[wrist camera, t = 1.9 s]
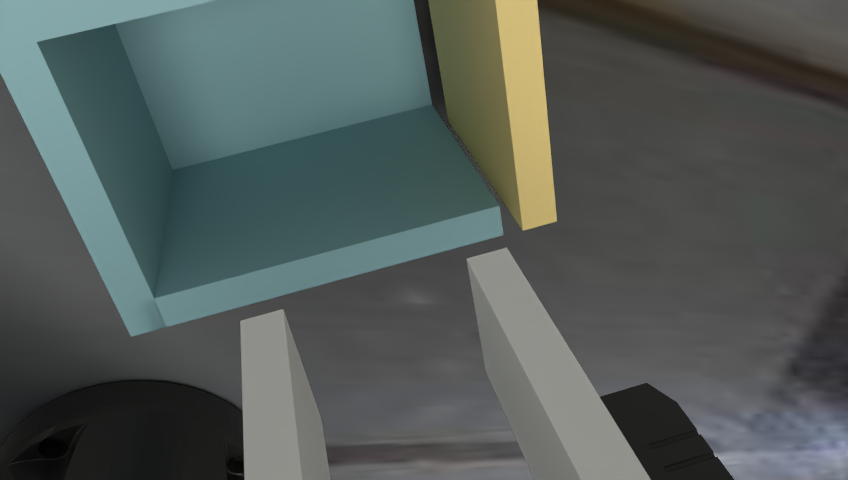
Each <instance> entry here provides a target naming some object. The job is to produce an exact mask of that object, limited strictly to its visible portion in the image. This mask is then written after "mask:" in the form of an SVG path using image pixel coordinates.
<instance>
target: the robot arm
mask: <svg viewBox="0 0 848 480" xmlns="http://www.w3.org/2000/svg"><path fill="white" fill-rule="evenodd" d="M467 265H468V271H469V277H470V283H471V289H472V294H473V300H474V306H475V312H476V318H477V323H478V329H479V335H480V341H481V347H482V353H483V358H484V364H485V370H486V373H487V375H488V378H489V380H490V382H491V384H492V386H493V389H494V391H495V393H496V395H497V398H498V400H499V402H500V404H501V406H502V409H503V411H504V413H505V415H506V417H507V420H508V422H509V424H510V426H511V429H512V431H513V433H514V435H515V437H516V440H517V442H518V444H519V446H520V449H521V451H522V453H523V455H524V457H525V460H526V462H527V464H528V466H529V469H530V471H531V473H532V475H533V477H534V480H734V479H733V477H732V476H731V475H730V473H729V472H728V471H727V469H726V468H725V467H724V465H723V464H722V463H721V461H720V460H719V459H718V457H715V456H714V454H713V450H712V449H711V448H710V446H709V445H708V444H707V442H706V441H705V440H704V438H703V437H702V436H701V434H700V435H699V434H698V433H697V429H696V428H695V426H694V425H693V424H692V422H691V421H690V420H689V418H688V417H687V415H686V414H685V413H684V411H683V410H682V409H681V407H680V406H679V405H678V403H677V402H675V401H674V400H672V399H671V398H669V397H668V396H666V395H665V394H663V393H662V392H660V391H658V390H657V389H655V388H654V387H652V386H651V385H649V384H648V383H645V384H641V385H638V386H635V387H631V388H628V389H625V390H621V391H618V392H615V393H611V394H608V395H605V396H601V397H599V395H598V394H597V392H596V390H595V389H594V387H593V386H592V384H591V382H590V381H589V379H588V378H587V376H586V374H585V373H584V371H583V370H582V368H581V366H580V365H579V363H578V361H577V360H576V358H575V357H574V355H573V353H572V352H571V350H570V349H569V347H568V345H567V344H566V342H565V341H564V339H563V337H562V336H561V334H560V332H559V331H558V329H557V328H556V326H555V324H554V323H553V321H552V320H551V318H550V316H549V315H548V313H547V312H546V310H545V308H544V307H543V305H542V303H541V302H540V300H539V299H538V297H537V295H536V294H535V292H534V291H533V289H532V287H531V286H530V284H529V283H528V281H527V279H526V278H525V276H524V274H523V273H522V271H521V270H520V268H519V266H518V265H517V263H516V262H515V260H514V258H513V257H512V255H511V254H510V252H509V250H508V249H507V248H503V249H500V250H496V251H492V252H489V253H485V254H481V255H478V256H474V257H471V258H467ZM240 328H241V366H242V404H243V413H242V412H240V411H239V410H238V409H236V408H235V407H233V406H232V405H231V404H229V403H227V402H225V401H224V400H222V399H220V398H218V397H216V396H213V395H211V394H208V393H206V392H203V391H200V390H197V389H194V388H190V387H187V386H182V385H177V384H171V383H165V382H154V381H127V382H116V383H108V384H103V385H98V386H93V387H89V388H85V389H82V390H79V391H76V392H73V393H70V394H67V395H65V396H62V397H60V398H58V399H56V400H54V401H52V402H50V403H48V404H46V405H44V406H43V407H41V408H40V409H38V410H36V411H35V412H34V413H32V414H31V415H29V416H28V417H27V418H26V419H25V420H23V421H22V422H21V423H20V424H19V425H18V426H17V427H16V428H15V429H14V430H13V431H12V432H11V434H10V435H9V436H8V437H7V439H6V440H5V442H4V443H3V445H2V447H1V449H0V480H330V473H329V466H328V460H327V453H326V447H325V440H324V434H323V427H322V420H321V417H320V414H319V411H318V408H317V405H316V402H315V399H314V397H313V394H312V391H311V388H310V385H309V382H308V379H307V376H306V373H305V371H304V368H303V365H302V362H301V359H300V356H299V353H298V350H297V347H296V344H295V342H294V339H293V336H292V333H291V330H290V327H289V324H288V321H287V318H286V316H285V313H284V310H283V309H281V310H278V311H274V312H271V313H267V314H263V315H260V316H256V317H252V318H249V319H245V320H241V321H240Z"/></svg>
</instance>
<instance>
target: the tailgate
mask: <svg viewBox="0 0 848 480" xmlns="http://www.w3.org/2000/svg"><path fill="white" fill-rule="evenodd" d="M428 3H429V9H430V15H431V21H432V27H433V32H434V38H435V44H436V50H437V56H438V62H439V68H440V74H441V80H442V86H443V92H444V98H445V104H446V110H447V116H448V122H449V125H450V126H452V127H453V129H454V130H455V132H456V133H457V135H458V136H459V138H460V139H461V141H462V142H463V144H464V145H465V146H466V148H467V149H468V151H469V152H470V154H471V155H472V157H473V158H474V160H475V161H476V163H477V164H478V166H479V167H480V168H481V170H482V171H483V173H484V174H485V176H486V177H487V179H488V180H489V182H490V183H491V185H492V186H493V188H494V189H495V190H496V192H497V193H498V195H499V196H500V198H501V199H502V201H503V202H504V204H505V205H506V207H507V208H508V210H509V211H510V212H511V214H512V215H513V217H514V218H515V220H516V221H517V223H518V224H519V226H520V227H521V229H522V230H527V229H531V228H534V227H538V226H542V225H545V224H549V223H553V222H556V221H557V216H556V205H555V194H554V183H553V172H552V161H551V149H550V138H549V127H548V116H547V105H546V94H545V83H544V72H543V61H542V50H541V38H540V27H539V16H538V5H537V0H428Z"/></svg>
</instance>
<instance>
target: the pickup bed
mask: <svg viewBox="0 0 848 480" xmlns="http://www.w3.org/2000/svg"><path fill="white" fill-rule="evenodd" d="M0 73H1V75H2V77H3V79H4V81H5V83H6V85H7V87H8V89H9V91H10V93H11V95H12V97H13V99H14V101H15V103H16V105H17V107H18V110H19V112H20V114H21V116H22V118H23V120H24V122H25V124H26V126H27V128H28V130H29V132H30V134H31V136H32V138H33V140H34V142H35V144H36V146H37V148H38V150H39V152H40V154H41V156H42V158H43V160H44V162H45V164H46V166H47V168H48V170H49V172H50V174H51V176H52V178H53V180H54V182H55V184H56V186H57V188H58V190H59V192H60V194H61V196H62V198H63V200H64V202H65V204H66V206H67V208H68V210H69V212H70V214H71V216H72V218H73V220H74V223H75V225H76V227H77V229H78V231H79V233H80V235H81V237H82V239H83V241H84V243H85V245H86V247H87V249H88V251H89V253H90V255H91V257H92V259H93V261H94V263H95V265H96V267H97V269H98V271H99V273H100V275H101V277H102V279H103V281H104V283H105V285H106V287H107V289H108V291H109V293H110V295H111V297H112V299H113V301H114V303H115V305H116V307H117V309H118V311H119V313H120V315H121V317H122V319H123V321H124V323H125V325H126V327H127V329H128V331H129V334H130V336H131V337H132V336H136V335H139V334H143V333H147V332H150V331H154V330H158V329H161V328H165V327H169V326H172V325H176V324H180V323H183V322H187V321H191V320H194V319H198V318H202V317H205V316H209V315H213V314H216V313H220V312H224V311H227V310H231V309H235V308H238V307H242V306H246V305H249V304H253V303H257V302H260V301H264V300H268V299H271V298H275V297H278V296H282V295H286V294H289V293H293V292H297V291H300V290H304V289H308V288H311V287H315V286H319V285H322V284H326V283H330V282H333V281H337V280H341V279H344V278H348V277H352V276H355V275H359V274H363V273H366V272H370V271H374V270H377V269H381V268H385V267H388V266H392V265H396V264H399V263H403V262H407V261H410V260H414V259H418V258H421V257H425V256H429V255H432V254H436V253H440V252H443V251H447V250H451V249H454V248H458V247H462V246H465V245H469V244H473V243H476V242H480V241H484V240H487V239H491V238H495V237H498V236H502V235H503V228H502V221H501V213H500V206H499V204H498V203H497V201H496V200H495V198H494V197H493V195H492V194H491V192H490V191H489V189H488V188H487V186H486V185H485V183H484V182H483V180H482V179H481V177H480V176H479V174H478V173H477V171H476V170H475V168H474V167H473V165H472V164H471V162H470V161H469V159H468V158H467V156H466V155H465V153H464V152H463V150H462V149H461V147H460V146H459V144H458V143H457V141H456V140H455V138H454V137H453V135H452V134H451V132H450V131H449V129H448V128H447V126H446V125H445V123H444V122H443V120H442V119H441V117H440V116H439V114H438V113H437V111H436V110H435V108H434V107H433V105H432V101H431V96H430V90H429V84H428V79H427V73H426V67H425V62H424V56H423V50H422V45H421V39H420V34H419V28H418V22H417V17H416V11H415V5H414V0H0Z"/></svg>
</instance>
